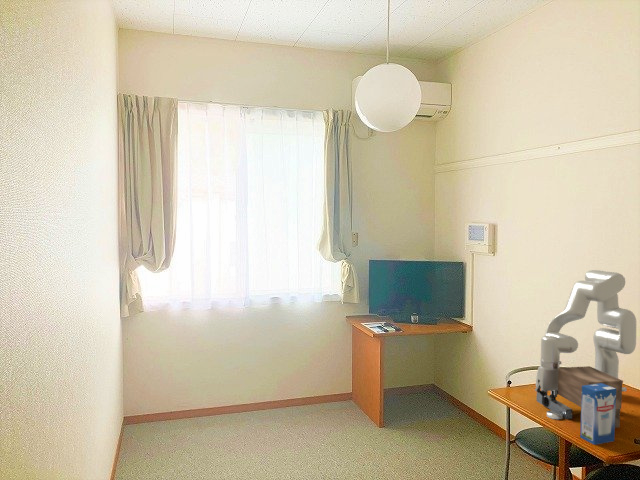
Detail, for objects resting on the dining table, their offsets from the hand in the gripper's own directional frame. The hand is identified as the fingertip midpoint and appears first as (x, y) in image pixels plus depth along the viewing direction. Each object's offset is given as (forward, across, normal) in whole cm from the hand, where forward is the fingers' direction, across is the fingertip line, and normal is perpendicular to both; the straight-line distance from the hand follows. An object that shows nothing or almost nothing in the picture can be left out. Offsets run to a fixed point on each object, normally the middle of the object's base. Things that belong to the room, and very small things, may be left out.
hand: (548, 404), depth 213 cm
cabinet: (+1, -8, +14) cm, 16 cm away
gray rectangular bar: (+1, 0, +3) cm, 3 cm away
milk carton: (+1, +2, +32) cm, 32 cm away
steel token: (+1, +4, +10) cm, 11 cm away
